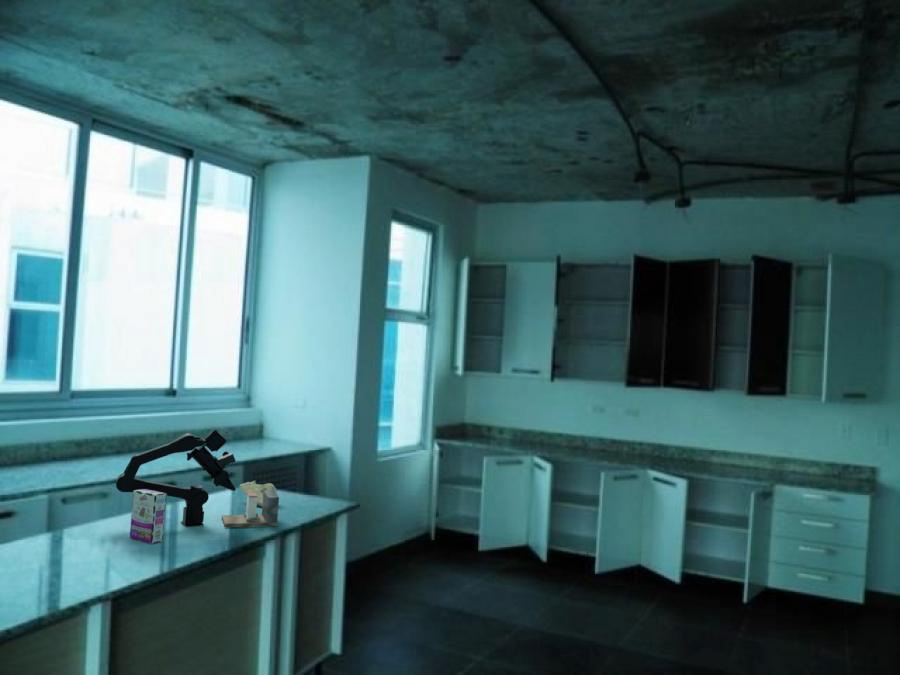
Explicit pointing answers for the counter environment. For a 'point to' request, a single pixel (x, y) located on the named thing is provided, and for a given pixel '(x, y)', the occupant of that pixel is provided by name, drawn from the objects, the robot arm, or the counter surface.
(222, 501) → the counter surface
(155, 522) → the candy bar box
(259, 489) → the cheese
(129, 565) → the counter surface
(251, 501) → the pink-topped white block
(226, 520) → the wooden platform
